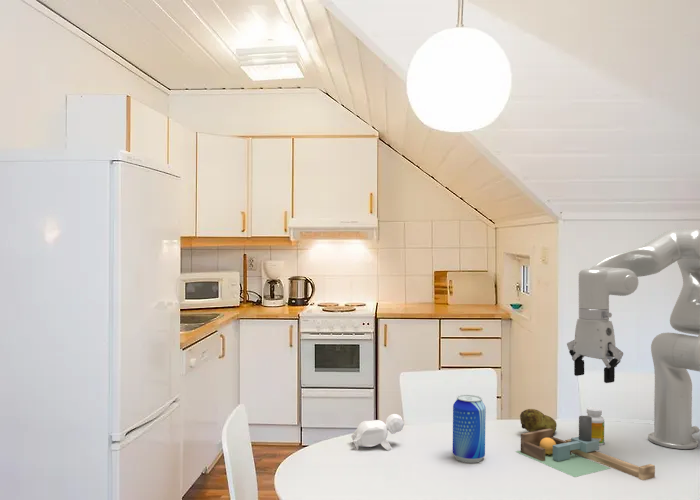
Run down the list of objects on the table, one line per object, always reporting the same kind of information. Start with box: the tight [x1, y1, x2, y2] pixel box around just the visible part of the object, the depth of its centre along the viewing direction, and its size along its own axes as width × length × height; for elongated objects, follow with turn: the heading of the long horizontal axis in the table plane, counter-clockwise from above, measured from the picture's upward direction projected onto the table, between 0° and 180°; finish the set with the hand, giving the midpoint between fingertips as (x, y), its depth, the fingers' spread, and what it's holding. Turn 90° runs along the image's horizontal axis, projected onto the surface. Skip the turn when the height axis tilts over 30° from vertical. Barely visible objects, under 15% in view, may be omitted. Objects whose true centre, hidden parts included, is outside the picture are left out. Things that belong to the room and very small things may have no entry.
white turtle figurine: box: [350, 413, 405, 452], centre depth 162 cm, size 9×8×15 cm
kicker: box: [553, 415, 600, 461], centre depth 155 cm, size 14×5×10 cm, turn 118°
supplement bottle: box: [585, 406, 605, 446], centre depth 167 cm, size 5×5×10 cm
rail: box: [564, 438, 656, 481], centre depth 150 cm, size 4×23×3 cm, turn 28°
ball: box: [539, 438, 556, 455], centre depth 156 cm, size 4×4×4 cm
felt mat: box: [515, 450, 611, 478], centre depth 152 cm, size 13×20×1 cm, turn 28°
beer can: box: [452, 394, 487, 464], centre depth 153 cm, size 8×8×16 cm
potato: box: [519, 408, 558, 434], centre depth 174 cm, size 8×13×8 cm, turn 103°
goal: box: [520, 428, 573, 461], centre depth 157 cm, size 11×8×5 cm
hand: (593, 378), depth 156 cm, fingers open, 9 cm apart
